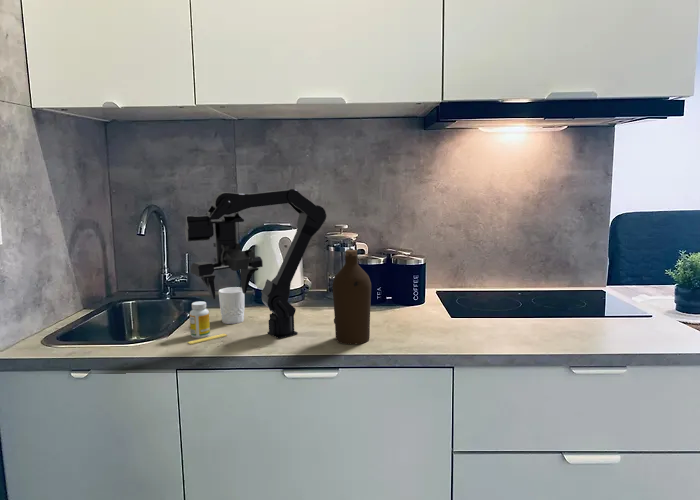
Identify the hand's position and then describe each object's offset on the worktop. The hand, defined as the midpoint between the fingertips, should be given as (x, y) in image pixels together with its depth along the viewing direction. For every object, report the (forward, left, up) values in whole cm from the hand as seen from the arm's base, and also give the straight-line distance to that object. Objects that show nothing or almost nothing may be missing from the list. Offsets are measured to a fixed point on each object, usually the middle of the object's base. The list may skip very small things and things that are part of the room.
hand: (229, 296), depth 145 cm
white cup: (-10, -18, -13) cm, 24 cm away
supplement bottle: (+4, -11, -13) cm, 18 cm away
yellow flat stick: (+4, -7, -13) cm, 15 cm away
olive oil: (-26, +21, -13) cm, 36 cm away
